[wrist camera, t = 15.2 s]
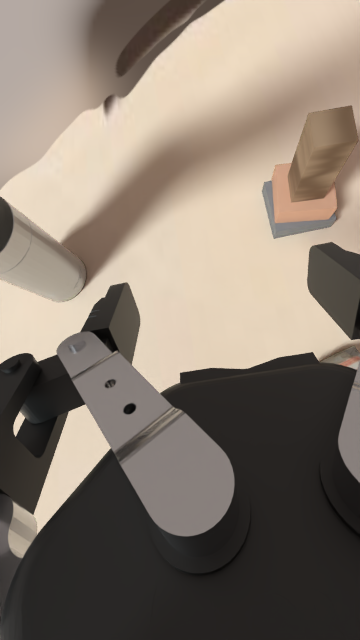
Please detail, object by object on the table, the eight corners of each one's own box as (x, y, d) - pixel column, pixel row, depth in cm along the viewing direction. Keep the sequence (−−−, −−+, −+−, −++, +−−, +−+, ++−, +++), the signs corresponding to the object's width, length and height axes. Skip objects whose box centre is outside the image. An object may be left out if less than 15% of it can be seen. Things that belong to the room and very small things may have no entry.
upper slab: (274, 223, 41) (279, 212, 38) (271, 178, 43) (275, 164, 40) (328, 219, 40) (337, 207, 37) (323, 173, 42) (331, 159, 39)
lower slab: (272, 240, 44) (276, 231, 41) (261, 194, 46) (264, 182, 43) (328, 229, 43) (336, 219, 40) (314, 181, 45) (321, 168, 42)
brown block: (291, 202, 39) (314, 147, 29) (287, 175, 39) (308, 113, 30) (323, 198, 38) (358, 140, 28) (319, 171, 39) (351, 105, 29)
